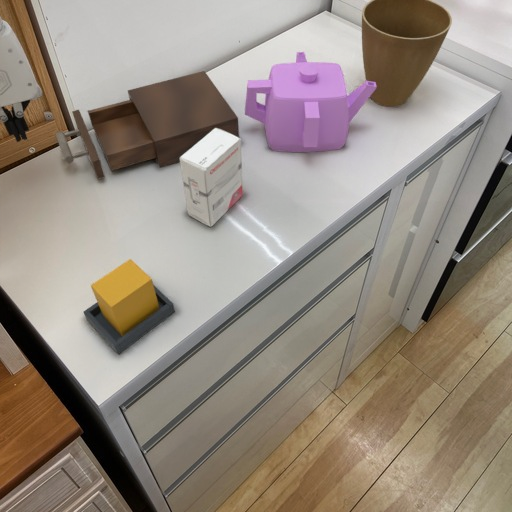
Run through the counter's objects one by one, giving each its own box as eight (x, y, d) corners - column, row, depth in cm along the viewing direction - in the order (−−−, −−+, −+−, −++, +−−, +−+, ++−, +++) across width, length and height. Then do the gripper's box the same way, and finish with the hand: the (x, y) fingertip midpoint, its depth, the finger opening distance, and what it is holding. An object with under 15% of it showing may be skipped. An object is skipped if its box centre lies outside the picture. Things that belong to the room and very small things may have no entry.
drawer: (73, 186, 86) (67, 168, 83) (55, 135, 94) (49, 117, 91) (176, 156, 90) (173, 138, 87) (150, 109, 98) (147, 91, 95)
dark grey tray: (118, 354, 67) (114, 346, 66) (86, 320, 71) (82, 311, 69) (175, 311, 71) (173, 303, 70) (142, 280, 75) (140, 272, 73)
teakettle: (237, 132, 95) (235, 70, 86) (298, 91, 103) (302, 30, 94) (312, 176, 88) (318, 113, 78) (371, 128, 96) (383, 66, 86)
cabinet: (159, 167, 90) (154, 141, 85) (133, 116, 99) (127, 90, 94) (239, 144, 93) (238, 117, 89) (206, 96, 102) (204, 70, 98)
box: (123, 337, 68) (111, 307, 63) (103, 316, 70) (90, 285, 65) (160, 310, 71) (151, 278, 66) (140, 290, 73) (130, 258, 68)
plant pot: (334, 99, 102) (345, 17, 89) (377, 66, 109) (392, -14, 96) (402, 130, 95) (424, 47, 83) (442, 93, 102) (468, 11, 90)
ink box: (220, 183, 87) (216, 124, 78) (244, 195, 85) (243, 136, 76) (186, 215, 83) (177, 156, 73) (211, 228, 81) (205, 170, 72)
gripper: (-90, 50, 65) (-26, 164, 79) (34, 23, 69) (73, 136, 83) (-93, 22, 69) (-32, 134, 84) (24, -2, 73) (63, 109, 88)
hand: (20, 135), depth 83 cm, fingers closed
